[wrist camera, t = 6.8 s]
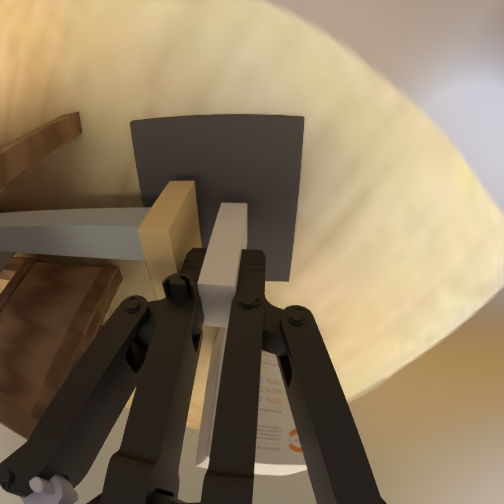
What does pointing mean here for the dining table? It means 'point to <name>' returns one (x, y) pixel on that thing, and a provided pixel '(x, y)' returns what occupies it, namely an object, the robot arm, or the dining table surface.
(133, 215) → the plunger
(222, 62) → the dining table surface
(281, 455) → the small box
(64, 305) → the tunnel
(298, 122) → the mat
